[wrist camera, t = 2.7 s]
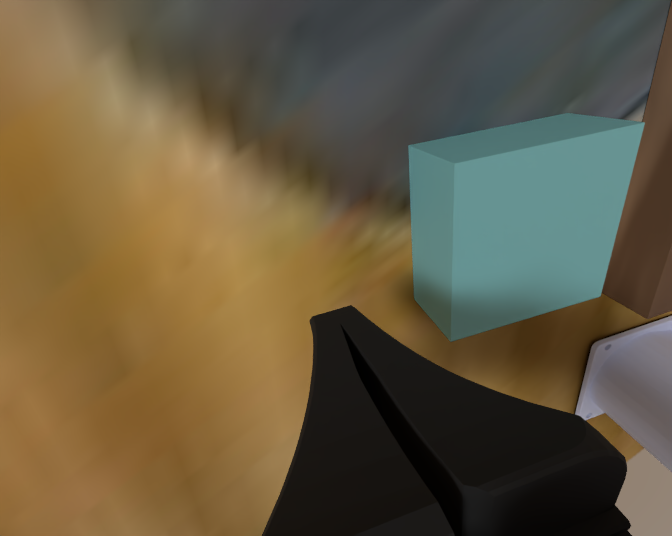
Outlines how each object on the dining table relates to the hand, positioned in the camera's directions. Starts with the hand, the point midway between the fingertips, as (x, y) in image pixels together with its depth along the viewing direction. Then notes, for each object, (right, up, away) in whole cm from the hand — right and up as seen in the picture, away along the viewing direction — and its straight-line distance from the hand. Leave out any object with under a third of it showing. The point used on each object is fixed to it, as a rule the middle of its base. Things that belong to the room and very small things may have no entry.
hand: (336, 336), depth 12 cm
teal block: (+7, +5, +7) cm, 12 cm away
